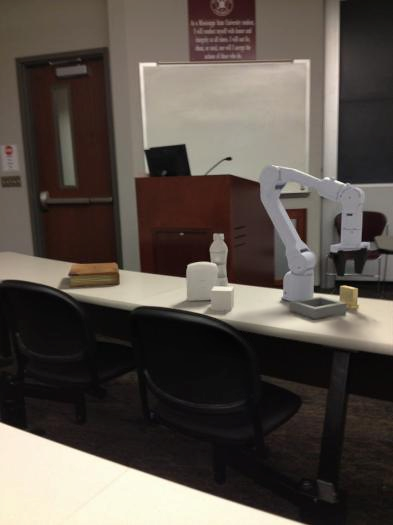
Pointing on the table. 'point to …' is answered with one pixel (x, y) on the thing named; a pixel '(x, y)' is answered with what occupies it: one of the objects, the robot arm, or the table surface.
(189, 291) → the photo printer
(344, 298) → the yellow block
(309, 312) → the grey well
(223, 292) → the off-white cube
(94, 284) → the diary
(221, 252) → the plastic bottle
